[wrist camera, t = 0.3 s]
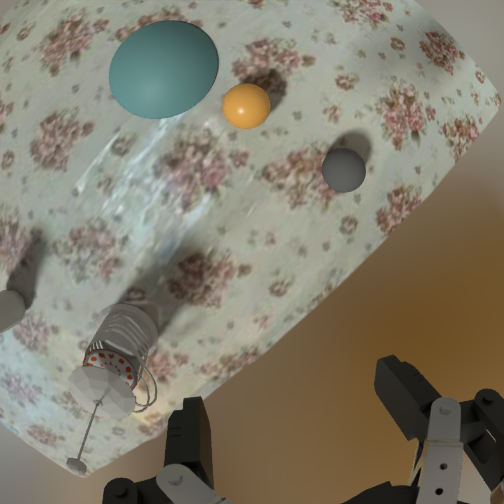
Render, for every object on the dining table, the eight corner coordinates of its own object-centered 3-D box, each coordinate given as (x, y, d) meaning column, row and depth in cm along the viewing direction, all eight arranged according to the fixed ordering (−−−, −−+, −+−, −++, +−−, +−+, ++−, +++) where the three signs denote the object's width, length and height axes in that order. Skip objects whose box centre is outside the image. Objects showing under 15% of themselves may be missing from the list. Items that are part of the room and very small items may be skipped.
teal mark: (102, 41, 30) (102, 41, 29) (205, 10, 30) (205, 10, 30) (120, 133, 34) (120, 133, 34) (229, 101, 35) (229, 101, 34)
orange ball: (216, 94, 34) (217, 83, 29) (260, 85, 34) (268, 73, 29) (227, 136, 36) (230, 131, 30) (270, 126, 36) (280, 120, 31)
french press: (120, 289, 39) (44, 421, 15) (181, 343, 43) (167, 493, 19) (84, 330, 40) (13, 454, 16) (141, 377, 44) (112, 513, 20)
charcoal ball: (311, 152, 38) (327, 151, 32) (349, 145, 38) (369, 144, 33) (320, 194, 39) (336, 199, 34) (357, 185, 39) (377, 189, 34)
